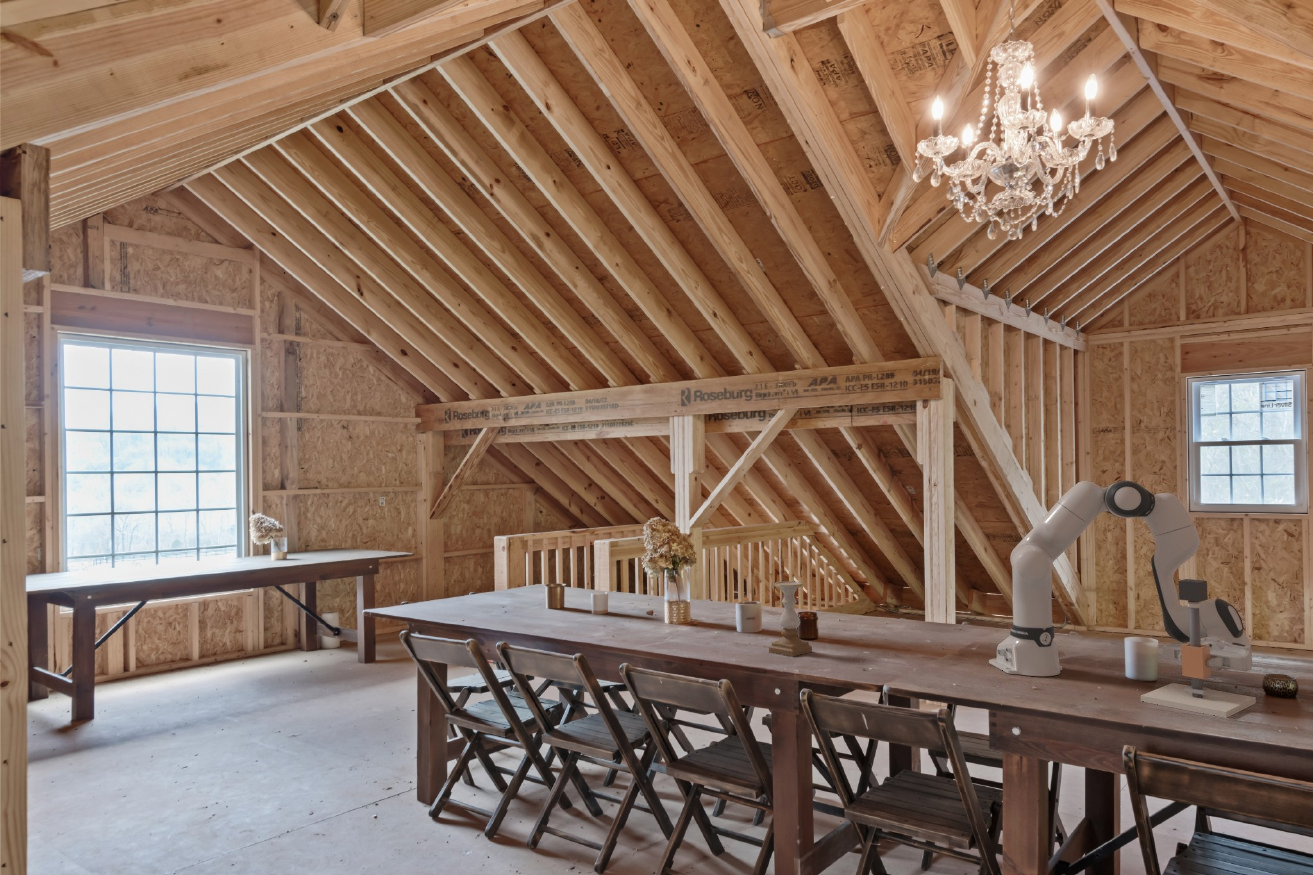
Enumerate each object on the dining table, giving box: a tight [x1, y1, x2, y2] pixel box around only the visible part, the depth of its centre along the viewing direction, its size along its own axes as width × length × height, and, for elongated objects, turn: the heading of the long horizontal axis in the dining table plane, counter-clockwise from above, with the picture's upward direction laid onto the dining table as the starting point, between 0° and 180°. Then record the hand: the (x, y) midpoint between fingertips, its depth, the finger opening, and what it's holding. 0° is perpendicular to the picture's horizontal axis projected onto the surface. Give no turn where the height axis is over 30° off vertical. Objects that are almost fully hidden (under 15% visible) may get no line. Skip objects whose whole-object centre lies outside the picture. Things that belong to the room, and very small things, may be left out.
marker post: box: [1140, 578, 1257, 719], centre depth 224 cm, size 20×20×32 cm
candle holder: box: [768, 580, 813, 657], centre depth 294 cm, size 11×11×24 cm
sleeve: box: [1181, 642, 1212, 680], centre depth 224 cm, size 5×5×8 cm
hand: (1194, 660), depth 223 cm, fingers open, 5 cm apart
